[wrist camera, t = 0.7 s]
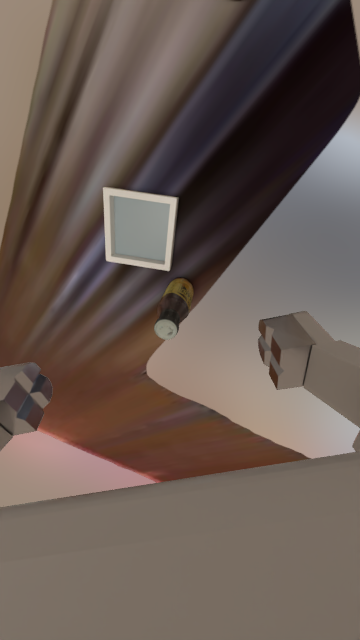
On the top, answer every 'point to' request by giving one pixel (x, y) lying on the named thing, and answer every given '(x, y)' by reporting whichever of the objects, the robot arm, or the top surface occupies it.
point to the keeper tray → (139, 227)
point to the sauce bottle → (173, 308)
